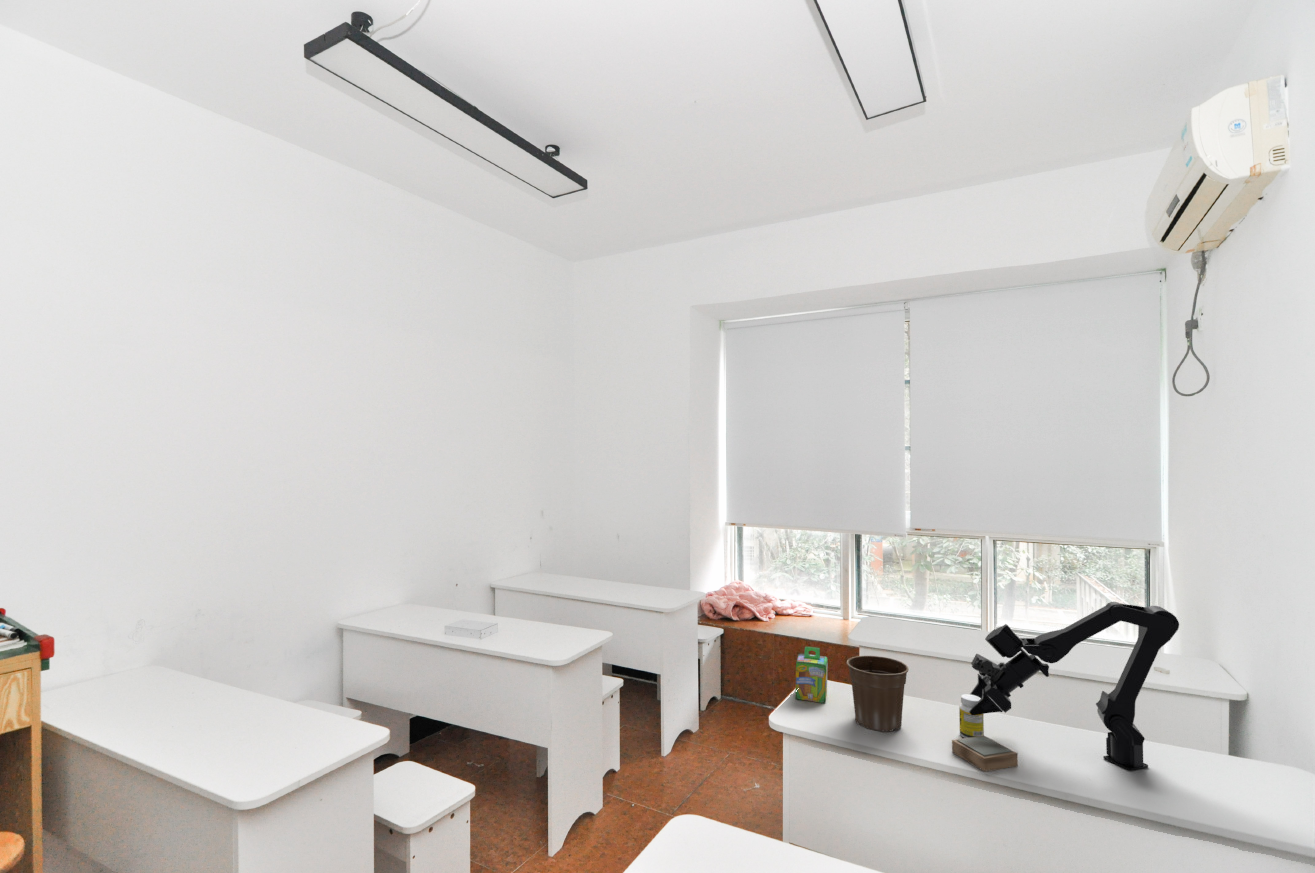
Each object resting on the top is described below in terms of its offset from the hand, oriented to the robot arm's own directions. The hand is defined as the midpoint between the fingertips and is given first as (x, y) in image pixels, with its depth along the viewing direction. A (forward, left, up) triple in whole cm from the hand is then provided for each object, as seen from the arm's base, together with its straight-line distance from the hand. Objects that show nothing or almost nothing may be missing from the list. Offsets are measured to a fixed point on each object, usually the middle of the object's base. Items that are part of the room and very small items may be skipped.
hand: (969, 707), depth 162 cm
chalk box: (+36, +26, -8) cm, 45 cm away
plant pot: (+14, +19, -8) cm, 24 cm away
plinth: (-11, +7, -7) cm, 15 cm away
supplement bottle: (0, 0, -8) cm, 8 cm away
